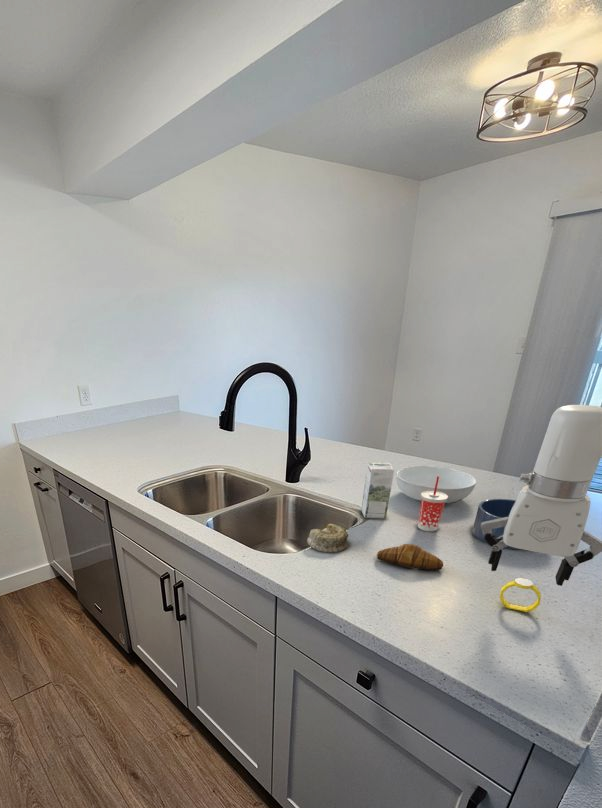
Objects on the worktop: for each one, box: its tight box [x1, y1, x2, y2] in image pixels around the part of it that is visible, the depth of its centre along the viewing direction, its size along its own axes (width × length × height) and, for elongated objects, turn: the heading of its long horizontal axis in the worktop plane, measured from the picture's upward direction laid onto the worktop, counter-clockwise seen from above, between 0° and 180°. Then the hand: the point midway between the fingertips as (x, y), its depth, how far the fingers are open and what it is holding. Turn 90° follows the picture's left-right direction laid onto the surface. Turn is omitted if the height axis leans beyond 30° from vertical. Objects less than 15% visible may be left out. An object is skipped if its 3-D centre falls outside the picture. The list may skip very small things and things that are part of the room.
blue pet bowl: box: [471, 498, 525, 551], centre depth 105 cm, size 14×14×7 cm
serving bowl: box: [395, 465, 477, 504], centre depth 129 cm, size 21×21×7 cm
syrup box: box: [360, 462, 395, 520], centre depth 118 cm, size 6×6×14 cm
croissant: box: [376, 543, 444, 571], centre depth 96 cm, size 14×7×5 cm, turn 64°
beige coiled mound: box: [306, 523, 349, 553], centre depth 107 cm, size 10×10×5 cm
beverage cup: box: [417, 476, 448, 532], centre depth 110 cm, size 6×6×14 cm
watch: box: [499, 577, 542, 613], centre depth 80 cm, size 6×3×6 cm, turn 56°
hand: (525, 574), depth 78 cm, fingers open, 9 cm apart
